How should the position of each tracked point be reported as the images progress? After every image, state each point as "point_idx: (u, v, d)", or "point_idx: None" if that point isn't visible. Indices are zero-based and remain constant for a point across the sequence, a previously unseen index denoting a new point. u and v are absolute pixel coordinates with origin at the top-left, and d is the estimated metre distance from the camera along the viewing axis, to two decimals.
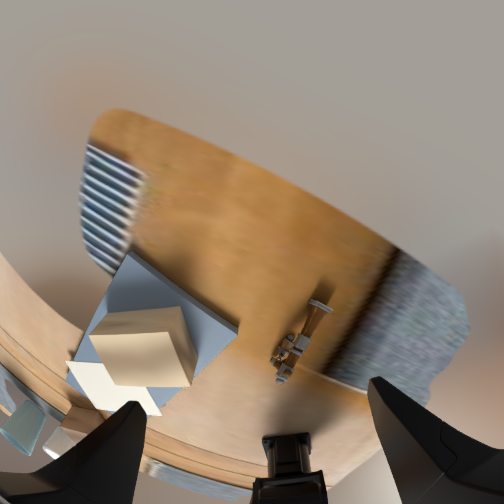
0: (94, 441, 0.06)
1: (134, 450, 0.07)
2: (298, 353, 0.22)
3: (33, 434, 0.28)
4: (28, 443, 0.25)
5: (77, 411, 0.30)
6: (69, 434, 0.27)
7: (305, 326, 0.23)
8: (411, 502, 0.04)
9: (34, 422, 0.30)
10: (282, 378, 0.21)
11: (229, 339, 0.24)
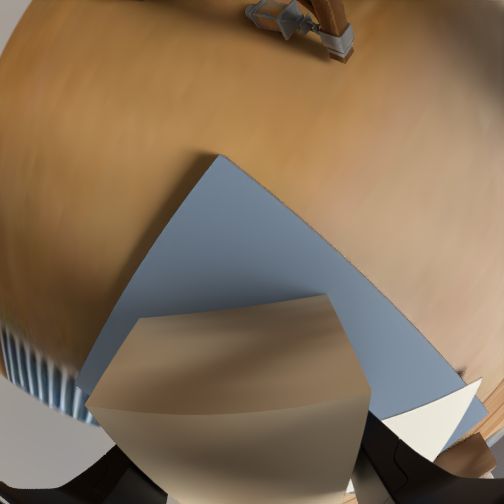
0: None
1: None
2: None
3: None
4: None
5: None
6: None
7: None
8: None
9: None
10: None
11: (240, 183, 0.07)
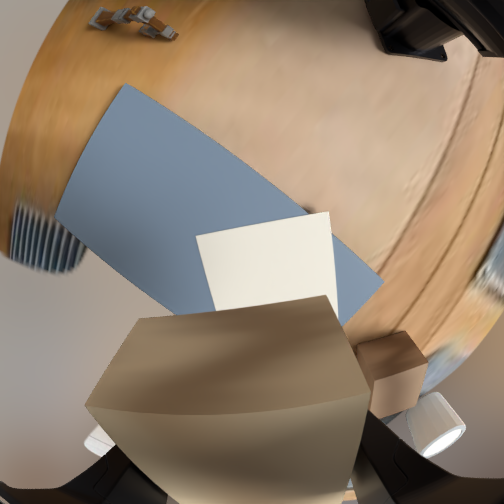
0: None
1: None
2: (124, 12, 0.11)
3: None
4: None
5: None
6: (387, 411, 0.19)
7: (111, 21, 0.12)
8: None
9: None
10: (140, 12, 0.10)
11: (131, 90, 0.15)
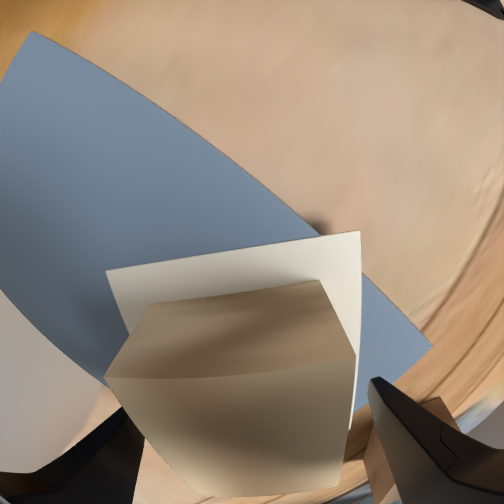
0: (94, 441, 0.06)
1: (134, 450, 0.07)
2: None
3: None
4: None
5: (369, 458, 0.14)
6: None
7: None
8: (411, 502, 0.04)
9: None
10: None
11: (35, 39, 0.06)
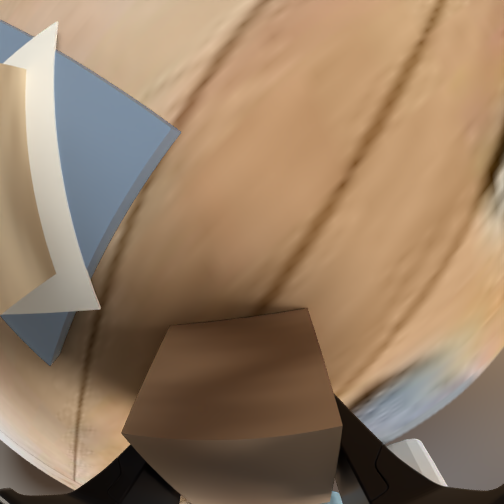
0: None
1: None
2: None
3: None
4: None
5: None
6: None
7: None
8: None
9: None
10: None
11: None
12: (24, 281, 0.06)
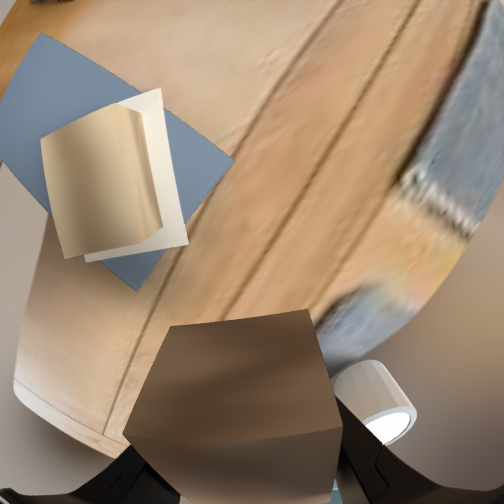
0: None
1: None
2: None
3: None
4: None
5: None
6: None
7: None
8: None
9: None
10: None
11: (42, 36, 0.12)
12: (153, 226, 0.16)
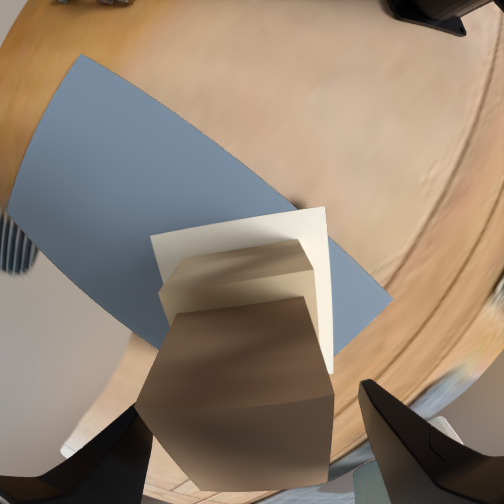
0: (102, 443, 0.06)
1: (142, 451, 0.07)
2: None
3: None
4: None
5: None
6: (242, 485, 0.07)
7: None
8: None
9: (379, 483, 0.20)
10: None
11: (86, 61, 0.10)
12: None
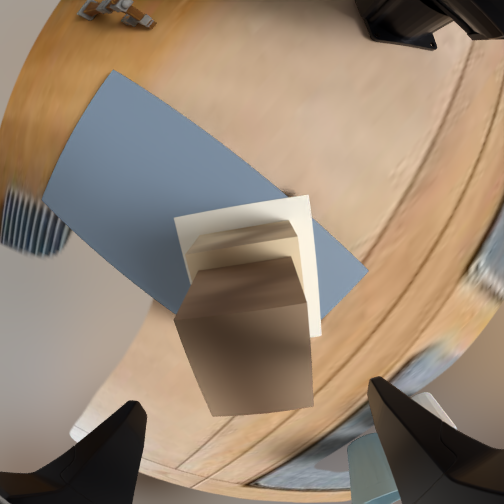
0: (94, 441, 0.06)
1: (134, 450, 0.07)
2: (107, 3, 0.11)
3: (384, 466, 0.21)
4: (388, 482, 0.19)
5: None
6: (246, 404, 0.11)
7: (97, 11, 0.12)
8: (411, 502, 0.04)
9: (371, 456, 0.24)
10: (118, 2, 0.10)
11: (118, 77, 0.15)
12: None
